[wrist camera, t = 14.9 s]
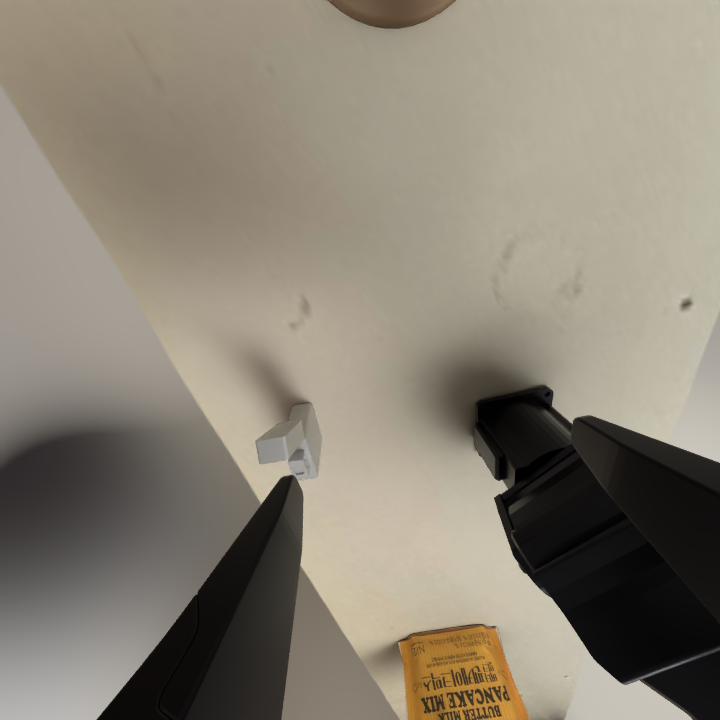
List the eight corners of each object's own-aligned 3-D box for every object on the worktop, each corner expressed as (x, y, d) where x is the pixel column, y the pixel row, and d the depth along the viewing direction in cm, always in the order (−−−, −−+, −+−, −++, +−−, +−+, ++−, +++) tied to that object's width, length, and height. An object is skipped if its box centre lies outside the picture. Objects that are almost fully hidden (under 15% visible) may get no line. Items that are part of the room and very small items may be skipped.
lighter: (322, 438, 25) (313, 524, 18) (303, 441, 25) (287, 528, 18) (302, 372, 22) (282, 444, 15) (281, 376, 22) (251, 449, 15)
